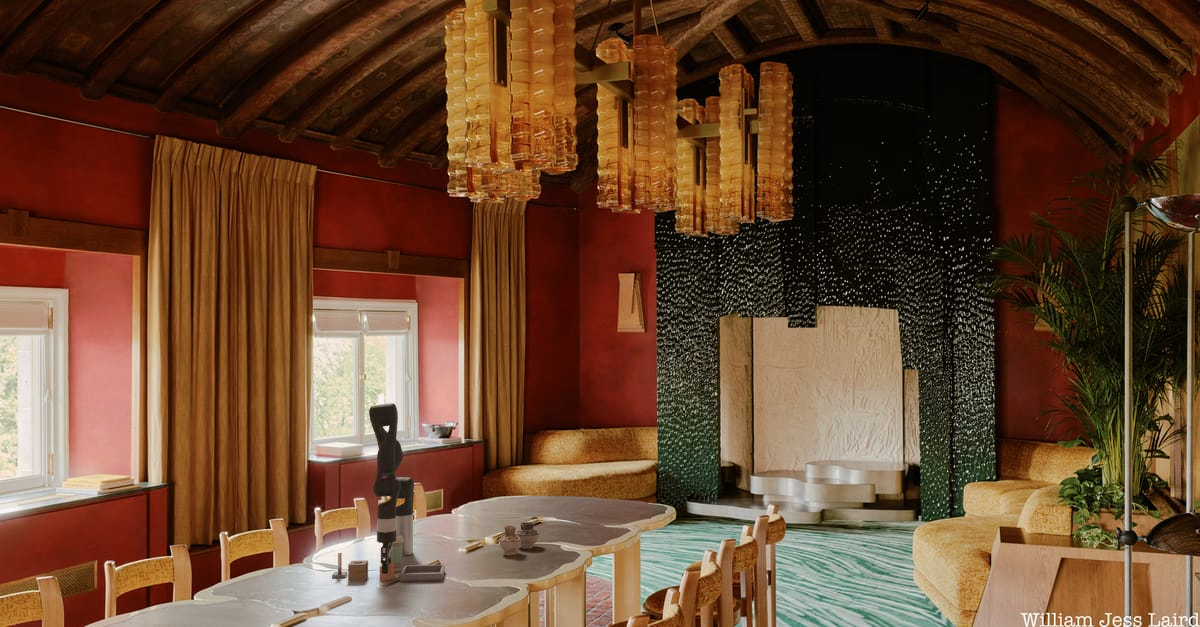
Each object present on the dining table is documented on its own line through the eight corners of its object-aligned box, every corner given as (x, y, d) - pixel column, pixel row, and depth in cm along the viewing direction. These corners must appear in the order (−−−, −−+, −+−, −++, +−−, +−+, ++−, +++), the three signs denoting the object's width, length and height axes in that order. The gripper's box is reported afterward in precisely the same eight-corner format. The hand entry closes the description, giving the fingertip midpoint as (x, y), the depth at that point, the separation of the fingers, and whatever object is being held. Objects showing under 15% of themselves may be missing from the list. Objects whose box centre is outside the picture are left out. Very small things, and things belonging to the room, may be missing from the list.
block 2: (381, 576, 363) (381, 563, 363) (394, 576, 363) (394, 563, 363) (379, 579, 358) (379, 566, 358) (392, 579, 358) (392, 566, 358)
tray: (404, 573, 367) (404, 565, 367) (444, 572, 368) (444, 564, 369) (400, 582, 353) (400, 574, 353) (442, 581, 355) (442, 573, 355)
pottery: (493, 555, 397) (493, 527, 397) (522, 543, 420) (522, 517, 420) (516, 558, 392) (516, 529, 393) (544, 545, 415) (543, 519, 415)
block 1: (351, 577, 361) (351, 560, 362) (367, 576, 362) (368, 560, 362) (348, 581, 355) (348, 564, 355) (365, 581, 356) (365, 564, 356)
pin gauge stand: (334, 574, 365) (334, 551, 365) (347, 574, 365) (347, 551, 366) (332, 578, 360) (332, 554, 360) (345, 577, 360) (345, 554, 361)
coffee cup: (381, 564, 382) (381, 535, 382) (402, 562, 385) (402, 533, 385) (384, 569, 374) (384, 539, 374) (405, 567, 377) (405, 537, 377)
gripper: (379, 526, 368) (379, 566, 367) (374, 533, 353) (373, 575, 353) (398, 525, 368) (398, 566, 368) (393, 532, 354) (393, 575, 353)
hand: (386, 570), depth 360 cm, fingers open, 8 cm apart
